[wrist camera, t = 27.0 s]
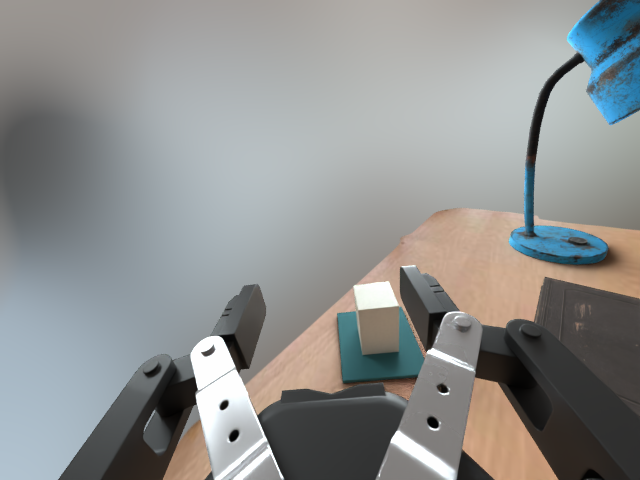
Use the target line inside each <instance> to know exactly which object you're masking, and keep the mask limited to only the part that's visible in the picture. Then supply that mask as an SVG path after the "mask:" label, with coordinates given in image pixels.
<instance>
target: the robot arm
mask: <svg viewBox="0 0 640 480" xmlns="http://www.w3.org/2000/svg"><path fill="white" fill-rule="evenodd" d="M400 295H401V299H402V301H403V304H404V306H405V308H406V310H407V312H408V314H409V316H410V319H411V321H412V323H413V325H414V327H415V329H416V331H417V333H418V336H419V338H420V340H421V342H422V344H423V346H424V348H425V351H426V352H427V354H426V357H425V359H424V362H423V365H422V367H421V370H420V372H419V375H418V378H417V380H416V383H415V386H414V388H413V391H412V393H411V396H410V399H409V401H408V400H406V399H405V398H403V397H401V396H398V395H396V394H393V393H390V392H386V391H385V389H384V385H383V383H372V384H360V385H355V386H353V387H350V388H347V389H344V390H342V391H339V392H336V393H332V394H330V393H325V392H320V391H315V390H310V389H297V390H285V391H282V396H281V400H279V401H277V402H275V403H273V404H271V405H270V406H268V407H267V408H265V409H264V410H263V411H262V412H261V413H260V414H259V415H257V413H256V411H255V408H254V406H253V404H252V402H251V399H250V397H249V395H248V393H247V390H246V388H245V386H244V384H243V381H242V379H241V377H240V375H239V372H240V370H241V369H249V367H250V364H251V361H252V358H253V354H254V351H255V348H256V345H257V342H258V339H259V335H260V332H261V329H262V326H263V322H264V319H265V316H266V306H265V302H264V299H263V296H262V293H261V290H260V287H259V285H258V284H254V285H246V286H244V287H243V288H242V291H241V292H240V294H239V295H236V296H235V297H234V298H233V299H232V300H230V301H229V303H228V305H227V306H226V308H225V311H224V312H223V313H222V317H220V319H219V321H218V323H217V324H216V326H215V328H214V330H213V332H212V334H211V335H210V337H208V338H206V339H204V340H202V341H201V342H200V343H198V344H197V345H196V346H195V348H194V349H193V351H192V353H191V354H189V355H187V356H183V357H181V358H178V359H175V360H172V359H171V357H170V356H169V355H167V354H161V355H157V356H155V357H153V358H151V359H149V360H148V361H146V362H145V363H144V364H143V365H141V366H140V368H139V369H138V370H137V371H136V372H135V374H134V375H133V377H132V378H131V379H130V381H129V382H128V383H127V385H126V387H125V388H124V389H123V390H122V392H121V393H120V395H119V396H118V397H117V399H116V400H115V402H114V403H113V404H112V406H111V407H110V409H109V410H108V411H107V413H106V414H105V415H104V417H103V418H102V420H101V421H100V422H99V424H98V425H97V427H96V428H95V429H94V431H93V432H92V434H91V435H90V437H89V438H88V439H87V440H86V442H85V443H84V445H83V446H82V447H81V449H80V450H79V452H78V453H77V454H76V456H75V457H74V458H73V460H72V461H71V463H70V464H69V466H68V467H67V468H66V470H65V471H64V472H63V474H62V475H61V476H60V478H59V479H58V480H163V477H164V475H165V472H166V470H167V468H168V465H169V463H170V460H171V458H172V456H173V453H174V451H175V449H176V446H177V444H178V441H179V439H180V437H181V434H182V432H183V429H184V427H185V425H186V422H187V420H188V418H189V415H190V413H191V410H192V408H193V406H194V405H196V404H197V405H198V410H199V414H200V419H201V423H202V428H203V433H204V437H205V442H206V446H207V451H208V456H209V460H210V465H211V469H212V471H211V473H210V474H209V475H208V476H207V477H206V479H205V480H494V479H493V478H492V477H491V476H490V475H489V474H488V473H487V472H486V471H485V470H484V469H482V468H481V467H480V466H479V465H478V464H477V463H476V462H475V461H474V460H473V459H472V458H471V457H470V456H469V455H468V454H466V453H465V452H464V451H463V450H462V446H463V440H464V434H465V429H466V423H467V418H468V412H469V407H470V401H471V396H472V390H473V384H474V379H475V378H480V379H485V380H489V381H494V382H498V384H499V385H500V387H501V389H502V390H503V392H504V393H505V395H506V397H507V398H508V400H509V401H510V403H511V404H512V406H513V408H514V409H515V411H516V412H517V414H518V416H519V417H520V419H521V420H522V422H523V424H524V425H525V427H526V428H527V430H528V432H529V433H530V435H531V436H532V438H533V440H534V441H535V443H536V444H537V446H538V448H539V449H540V451H541V452H542V454H543V455H544V457H545V459H546V460H547V462H548V463H549V465H550V467H551V468H552V470H553V471H554V473H555V475H556V476H557V478H558V479H559V480H640V417H639V416H638V415H637V414H636V413H635V412H634V411H632V410H631V409H630V408H629V407H628V406H627V405H626V404H625V403H624V402H623V401H622V400H621V399H620V398H619V397H618V396H617V395H616V394H615V393H614V392H613V391H612V390H611V389H610V388H608V387H607V386H606V385H605V384H604V383H603V382H602V381H601V380H600V379H599V378H598V377H597V376H596V375H595V374H594V373H593V372H592V371H591V370H590V369H589V368H588V367H587V366H586V365H584V364H583V363H582V362H581V361H580V360H579V359H578V358H577V357H576V356H575V355H574V354H573V353H572V352H571V351H570V350H569V349H568V348H567V347H566V346H565V345H564V344H563V343H562V342H561V341H559V340H558V339H557V338H556V337H555V336H554V335H553V334H552V333H551V332H550V331H549V330H548V329H546V328H545V327H543V326H541V325H539V324H537V323H535V322H532V321H529V320H523V319H514V320H511V321H509V322H508V323H507V325H506V328H501V327H494V326H487V325H482V324H481V323H480V322H479V321H478V320H477V319H476V318H474V317H473V316H471V315H469V314H466V313H462V312H460V311H459V309H458V308H457V307H456V305H455V304H454V303H453V301H452V300H451V299H450V297H449V296H448V295H447V293H446V292H444V290H443V288H442V287H440V284H439V283H438V282H437V280H436V279H435V278H434V277H432V276H430V275H429V274H427V273H425V274H421V273H420V271H419V270H418V268H417V267H416V266H415V265H413V266H405V267H401V268H400ZM154 409H155V410H156V411H155V413H154V415H153V417H152V419H151V420H150V422H149V424H148V426H147V428H146V430H145V432H144V428H145V425H146V423H147V421H148V420H149V418H150V416H151V414H152V412H153V411H154ZM143 432H144V433H143Z"/></svg>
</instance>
